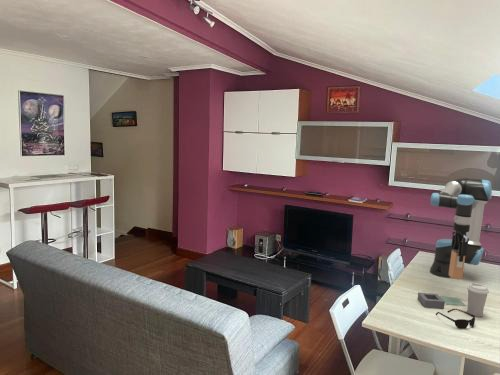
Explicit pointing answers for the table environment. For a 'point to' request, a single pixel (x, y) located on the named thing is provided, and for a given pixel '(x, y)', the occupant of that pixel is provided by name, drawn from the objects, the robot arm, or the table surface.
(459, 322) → the sunglasses
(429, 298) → the grey square frame
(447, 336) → the table surface
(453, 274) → the plug
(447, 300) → the pad
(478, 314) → the coffee cup
